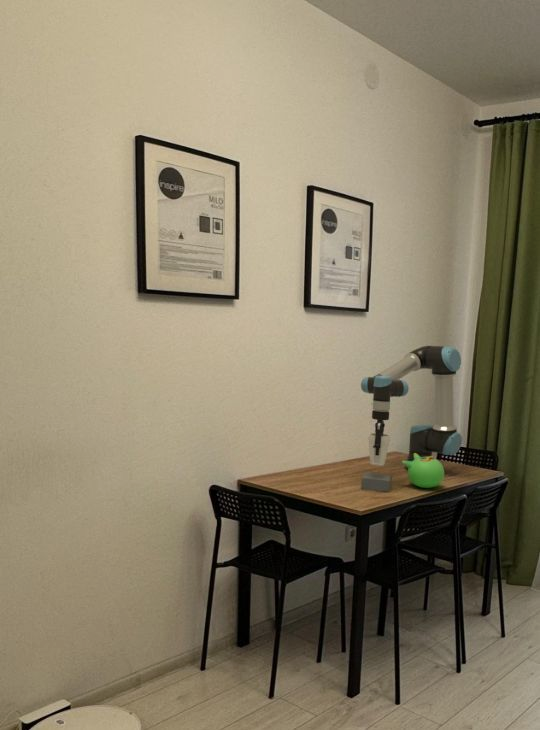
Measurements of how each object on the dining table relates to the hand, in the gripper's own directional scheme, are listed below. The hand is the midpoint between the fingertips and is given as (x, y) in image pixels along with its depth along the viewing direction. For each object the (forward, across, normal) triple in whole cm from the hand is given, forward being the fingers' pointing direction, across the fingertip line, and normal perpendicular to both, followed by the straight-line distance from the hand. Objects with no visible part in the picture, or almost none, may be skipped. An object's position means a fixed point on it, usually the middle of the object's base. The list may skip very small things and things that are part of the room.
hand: (377, 460), depth 278 cm
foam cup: (+2, 0, 0) cm, 2 cm away
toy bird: (+12, -12, +21) cm, 27 cm away
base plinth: (+12, 0, 0) cm, 12 cm away
